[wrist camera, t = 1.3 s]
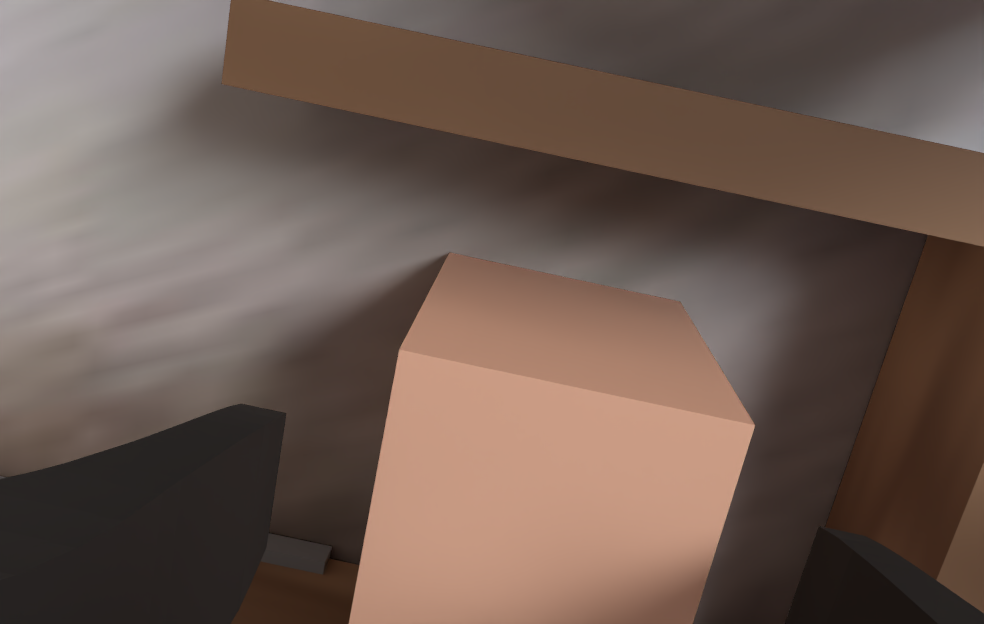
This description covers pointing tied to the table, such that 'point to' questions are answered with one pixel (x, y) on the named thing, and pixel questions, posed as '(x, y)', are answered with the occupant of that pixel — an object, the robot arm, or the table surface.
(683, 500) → the block
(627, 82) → the brown piece
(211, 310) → the table surface
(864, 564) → the robot arm
